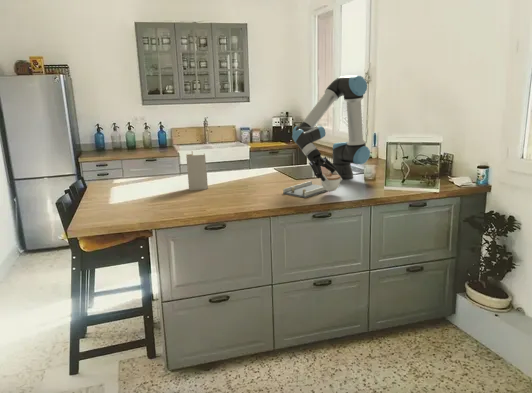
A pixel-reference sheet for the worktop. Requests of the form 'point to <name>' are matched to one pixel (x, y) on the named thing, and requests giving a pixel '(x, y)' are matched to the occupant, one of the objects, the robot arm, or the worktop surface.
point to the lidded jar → (332, 182)
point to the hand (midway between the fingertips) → (335, 183)
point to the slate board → (300, 191)
